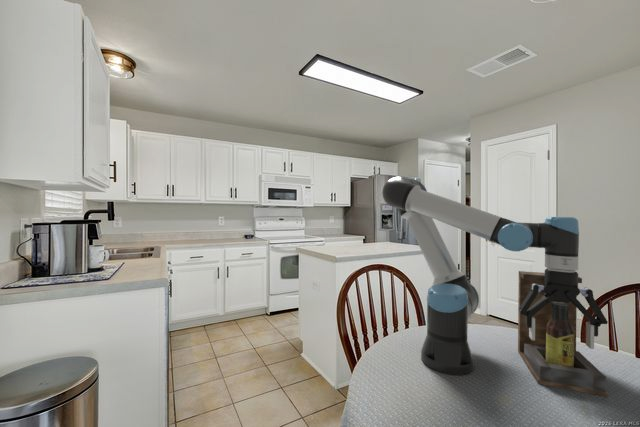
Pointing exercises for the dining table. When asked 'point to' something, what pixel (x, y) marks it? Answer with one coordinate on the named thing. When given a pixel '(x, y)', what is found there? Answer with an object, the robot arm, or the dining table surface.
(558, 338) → the sauce bottle
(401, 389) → the dining table surface
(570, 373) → the stand
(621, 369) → the dining table surface
